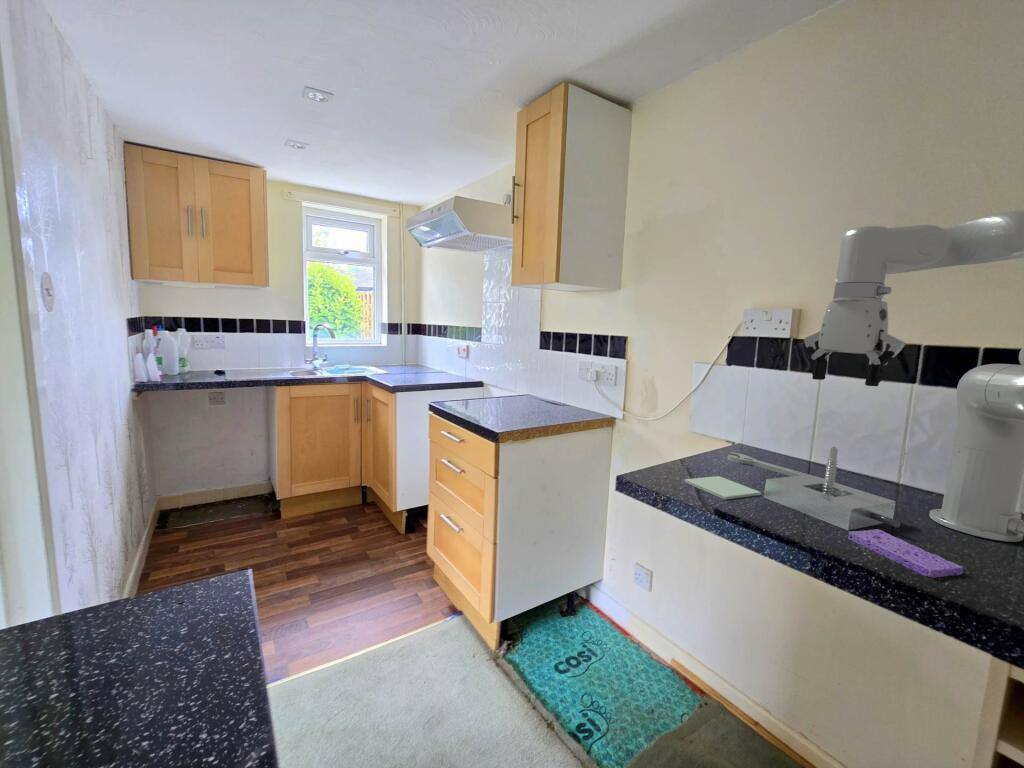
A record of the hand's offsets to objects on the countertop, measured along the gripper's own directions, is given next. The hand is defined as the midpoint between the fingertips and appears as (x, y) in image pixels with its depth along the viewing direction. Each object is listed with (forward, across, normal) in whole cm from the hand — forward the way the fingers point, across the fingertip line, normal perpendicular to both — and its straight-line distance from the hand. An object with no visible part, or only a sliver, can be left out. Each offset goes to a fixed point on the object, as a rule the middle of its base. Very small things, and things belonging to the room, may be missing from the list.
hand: (843, 382), depth 88 cm
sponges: (+27, -17, +9) cm, 33 cm away
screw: (+26, 0, 0) cm, 26 cm away
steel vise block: (+26, -2, 0) cm, 26 cm away
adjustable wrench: (+27, +23, -16) cm, 38 cm away
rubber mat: (+26, +15, +12) cm, 32 cm away
